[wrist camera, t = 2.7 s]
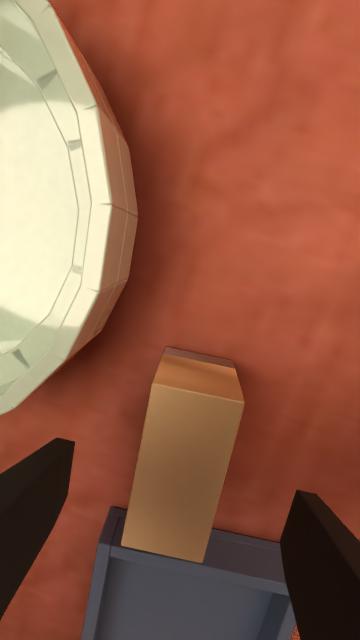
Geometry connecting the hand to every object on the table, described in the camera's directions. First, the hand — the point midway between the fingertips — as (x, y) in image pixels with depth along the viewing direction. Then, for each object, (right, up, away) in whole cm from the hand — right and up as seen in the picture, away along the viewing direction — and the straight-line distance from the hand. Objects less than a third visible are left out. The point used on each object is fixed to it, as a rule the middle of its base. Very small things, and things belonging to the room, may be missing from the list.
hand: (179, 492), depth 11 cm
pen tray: (0, -12, +7) cm, 14 cm away
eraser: (0, +1, +5) cm, 5 cm away
